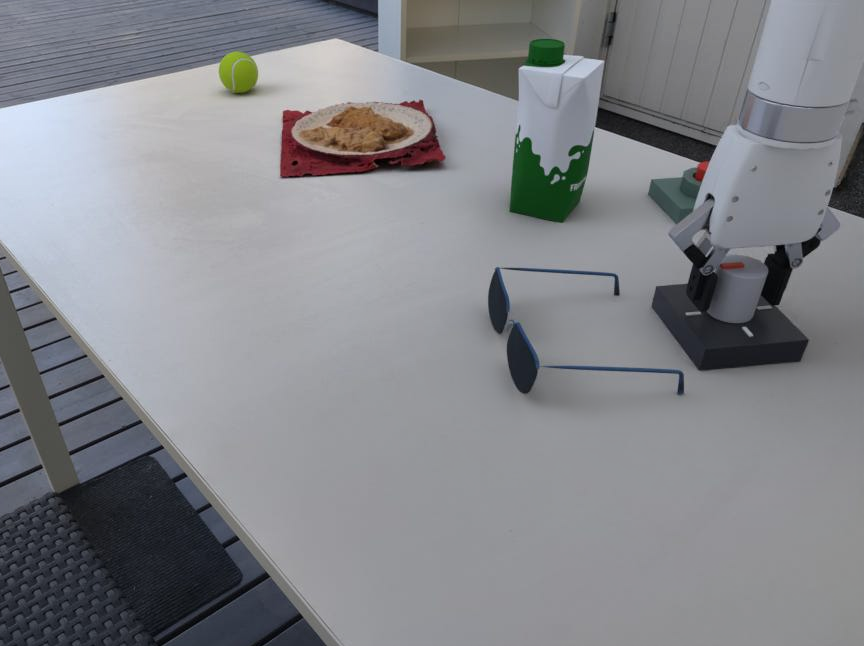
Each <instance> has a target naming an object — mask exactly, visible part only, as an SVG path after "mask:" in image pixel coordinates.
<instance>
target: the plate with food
mask: <svg viewBox="0 0 864 646" xmlns="http://www.w3.org/2000/svg"><path fill="white" fill-rule="evenodd" d="M436 134H437V128H436V124H435V122H434V119H433V117H432V116H431V115H429V113H428V112H427V111H426V108H425V104H424V100H423V99H421V98H420V99H418V101H415V100H414V99H413V100H411V101H410V102H408V101H407V100H404V101H403V102H400V103H392V102H390V103H389V102H383V101H380V102H379V101H370V102H369V101H367V102H351V101H348V102H346V103H344V102H343V103H340V104H335V105H330V106H327V107H326V108H319V109H318V110H317V111H310V110H305V111H304V112H302V111H300V110H290V109H286V110H282V129H281V144H280V147H281V148H280V149H281V150H280V165H279V167H280V168H279V169H280V172H279V176H280V177H285V178H289V177H295V176H298V177H303V176H304V175H306V174H311V175H312V176H325V175H329V174H330V175H331V174H332V175H335V174H342V173H355V172H356V173H360V172H368V171H370V170H372V169H377V168H379V164H378V163H376V162H375V160H378V159H379V160H381V159H389V161H388V164H390V165H394V164H397V163H398V164H399V163H400V166H402V167H405V166H406V167H414V166H417V165H423V164H424V165H427V164H428V163H431V162H432V161H433V162H438V163H441V162H443V161H445V160H446V158H447V157H446V155H445V154H444V152H443V151H442V148H441V145H440V142H439V136H438V135H436ZM405 155H407V156H405ZM404 156H405V157H404ZM399 157H400V158H399ZM295 161H296V162H297V164H295V165H293V163H295Z"/></svg>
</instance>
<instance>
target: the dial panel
mask: <svg viewBox="0 0 864 646" xmlns="http://www.w3.org/2000/svg"><path fill="white" fill-rule="evenodd" d="M687 284H688V283H679V284H667V285H656V286H655V289H654V293H653V298H652V302H651V306H650V307H651V308H652V309H653V310H654V312H655V313H656V314H657V316H658V318H659V319H660V320H661V321H662V323H663V324H664V326H665V327H666V328H667V329H668V331H669V332H670V333H671V335H672V336H673V338H674V339H675V340H676V342H677V343H678V344H679V345H680V347H681V348H682V349H683V351H684V352H685V353H686V355H687V356H688V358H689V359H690V361H691V362H692V363H693V364H694V366H695V367H696V368H697V369H698V371H707V370H718V369H729V368H742V367H749V366H750V367H752V366H762V365H774V364H784V363H795V362H801V361H802V359H803V356H804V354H805V351H806V350H807V346H808V344H809V341H810V339H809V338H808V337H807V336H806V335H805V334H804V332H802V331H801V330H800V328H798V327H797V325H795V323H793V321H791V320H790V319H789V318H788V317H787V316H786V315H785V313H784V312H782V311H781V309H779V307H777V305H775V306H772V305H771V304H769V303H768V302H767V301H766V300H765V299H764V298H763V297H762V296H761V295H760V298H759V301H758V304H757V307H756V309H755V312H754V315H753V318H752V319H751V320H750V321H748V322H745V323H728V322H724V321H720V320H718V319H716V318H714V317H712V316H711V315H709V314H708V313H707V311H704V312H700V311H699V310H698V309H697V307H696V306H695V305H694V304H693V303H692V302H691V300H690V299H689V298H688V296H687V294H686V288H687Z"/></svg>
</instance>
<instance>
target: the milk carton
mask: <svg viewBox="0 0 864 646" xmlns="http://www.w3.org/2000/svg"><path fill="white" fill-rule="evenodd" d="M565 48H566V43H565V42H564V41H562V40H559V39H555V38H537V39H533V40H531V41H529V45H528V55H527V56H528V57H527V59H526V60H525V63H523V64H522V65H521V66H519V68H518V102H517V115H516V125H515V135H514V136H515V137H514V148H513V149H514V150H513V157H512V159H513V160H512V171H511V182H510V183H511V184H510V199H509V212H511V213H516V214H521V215H526V216H530V217H534V218H538V219H541V220H542V219H543V220H547V221H552V222H557V223H561V224H562V223H564V221H565V220H566V219H567V218H568V216H569V215H571V213H572V212H573V210H574V209H575V208H576V207H577V206H578V204H580V202H581V199H582V196H583V192H584V188H585V184H586V181H587V177H588V173H589V166H590V161H591V155H592V149H593V141H594V137H595V129H596V124H597V117H598V110H599V103H600V96H601V90H602V89H601V88H602V81H603V74H604V67H605V63H606V62H605V61H606V60H603V59H595V58H594V59H593V58H588V57H587V58H586V57H584V56H582V55H570V54H565Z"/></svg>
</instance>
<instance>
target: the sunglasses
mask: <svg viewBox="0 0 864 646" xmlns="http://www.w3.org/2000/svg"><path fill="white" fill-rule="evenodd" d="M501 270H509V271H519V272H533V273H548V274H549V273H550V274H551V273H552V274H568V275H570V274H571V275H585V276H601V277H613V278H614V286H613V296H620V295H621V294H620V281H619V276H618V274H616V273H614V272H604V271H591V270H590V271H588V270H573V269H572V270H571V269H555V268H553V269H552V268H534V267H533V268H531V267H499V266H496V267H495V268H494V272H493V274H492V277H491V280H490V282H489V283H490V284H489V288H488V293H487V305H488V306H487V307H488V314H489V319H490V322H491V325H492V328H493V330H494V331H495V333H497V334H498V335H502V333H503V332H504V331H505V332H506V333H508V332H509V334H508V337H507V342H506V359H507V365H508V369H509V373H510V376H511V379H512V381H513V384H514V385H515V387H516V389H517V391H518V392H520V393H521V394H525V395H527V394H529V393H530V392H531V390H532V389H533V386H534V384H535V382H536V380H537V377H538V373H539V369H540V368H541V367H542V368H549V369H558V370H559V369H561V370H574V371H575V370H577V371H598V372H599V371H600V372H622V373H623V372H625V373H651V374H672V375H673V374H675V375H678V382H677V383H678V384H677V391H676V393H677V395H684V394H685V374H684V372H683V371H682V370H681V369H671V368H650V367H648V368H647V367H627V366H626V367H623V366H596V365H594V366H593V365H540V359H539V356H538V354H537V352H536V349H534V347H533V345H532V343H531V341H530V340H529V337H528V336H527V334H526V333H525V330H524V328H523V327H522V324H521V322H519V321H516V322H515V320H514V319H509V320H508V317H509V313H510V310H511V309H510V308H511V306H510V305H511V304H510V303H511V302H510V297H509V294H508V291H507V289H506V288H507V287H506V285H505V283H504V280H503V276H502V272H501ZM507 322H511V323H508V324H507Z"/></svg>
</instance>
